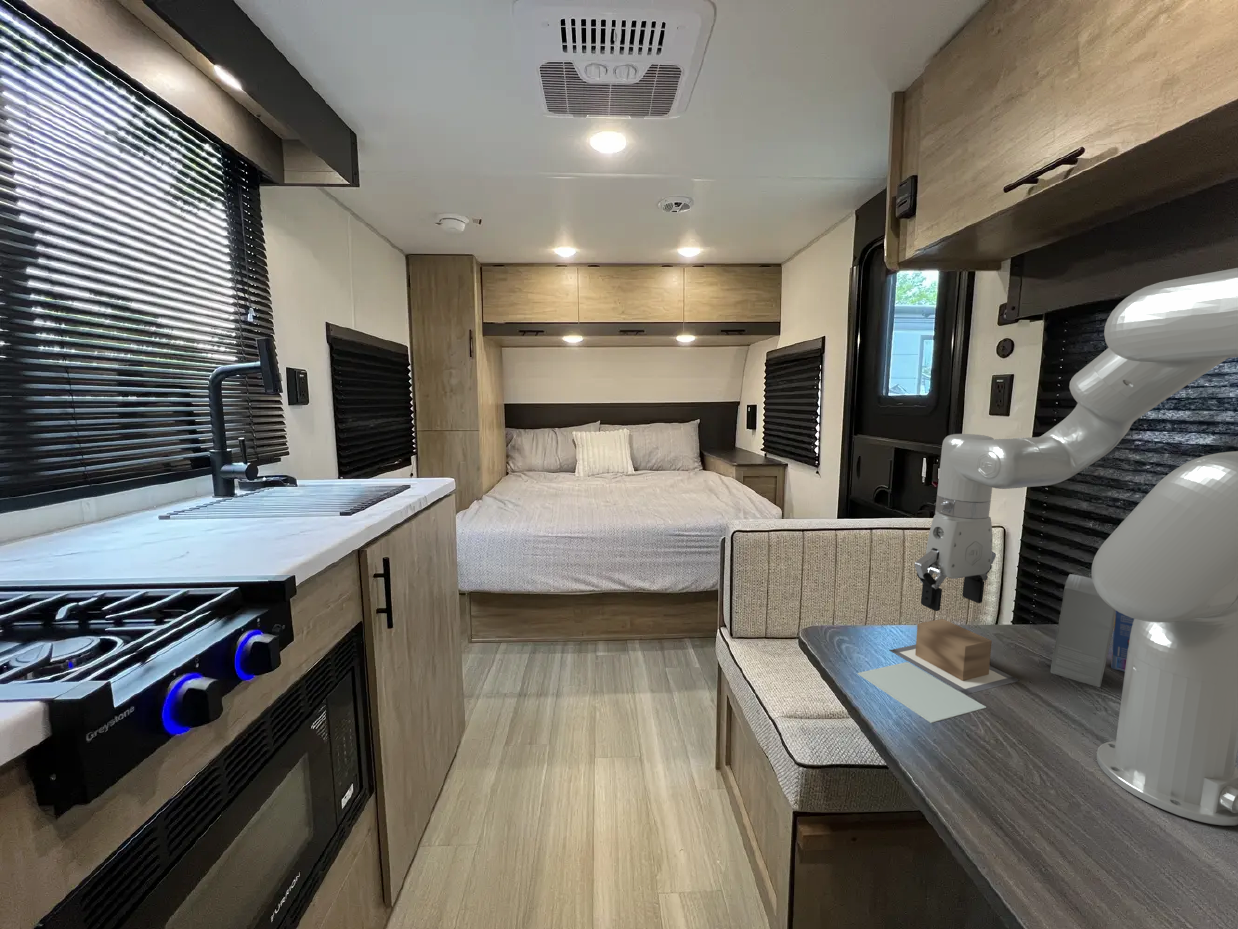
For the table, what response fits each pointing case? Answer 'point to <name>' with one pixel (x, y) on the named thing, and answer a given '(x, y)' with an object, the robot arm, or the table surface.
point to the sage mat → (921, 692)
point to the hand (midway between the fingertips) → (951, 603)
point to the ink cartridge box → (1121, 640)
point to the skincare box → (1082, 633)
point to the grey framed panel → (966, 686)
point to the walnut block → (953, 649)
